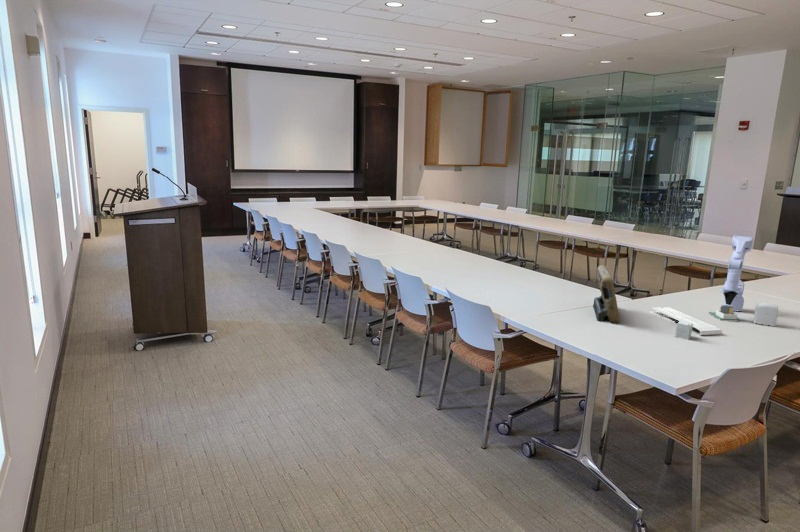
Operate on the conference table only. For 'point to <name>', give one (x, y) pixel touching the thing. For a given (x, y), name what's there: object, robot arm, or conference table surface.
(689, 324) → the skincare box
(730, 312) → the plug
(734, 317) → the board
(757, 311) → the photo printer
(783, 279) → the conference table surface
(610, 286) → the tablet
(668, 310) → the white keyboard
